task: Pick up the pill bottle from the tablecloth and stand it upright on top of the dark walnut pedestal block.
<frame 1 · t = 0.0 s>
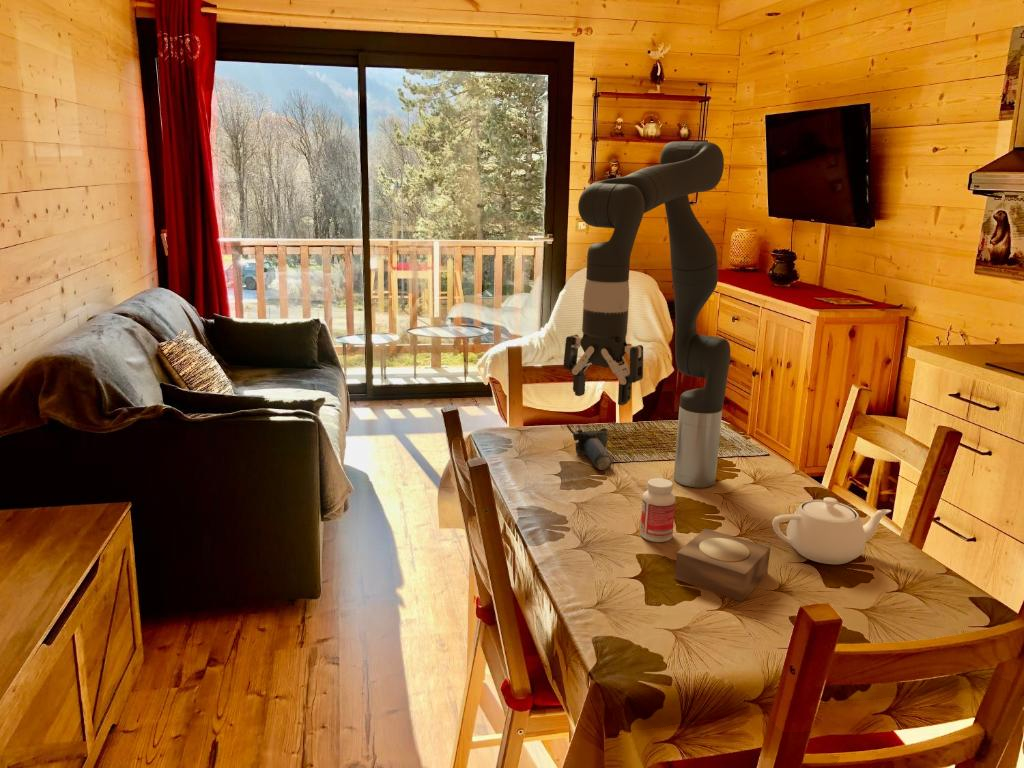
hand: (600, 399, 139), 29 cm above the table, fingers open, 8 cm apart
teapot: (826, 553, 149), on the table
pill bottle: (656, 537, 154), on the table
pedestal: (721, 576, 140), on the table
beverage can: (596, 463, 192), on the table
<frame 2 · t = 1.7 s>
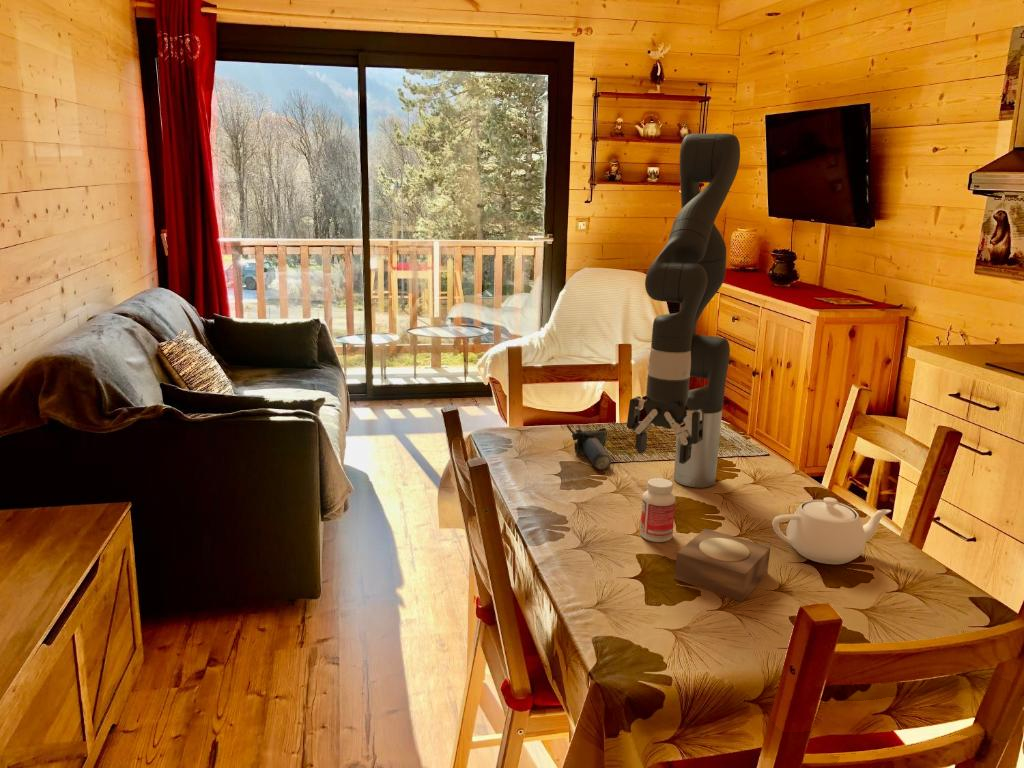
hand: (661, 457, 150), 16 cm above the table, fingers open, 8 cm apart
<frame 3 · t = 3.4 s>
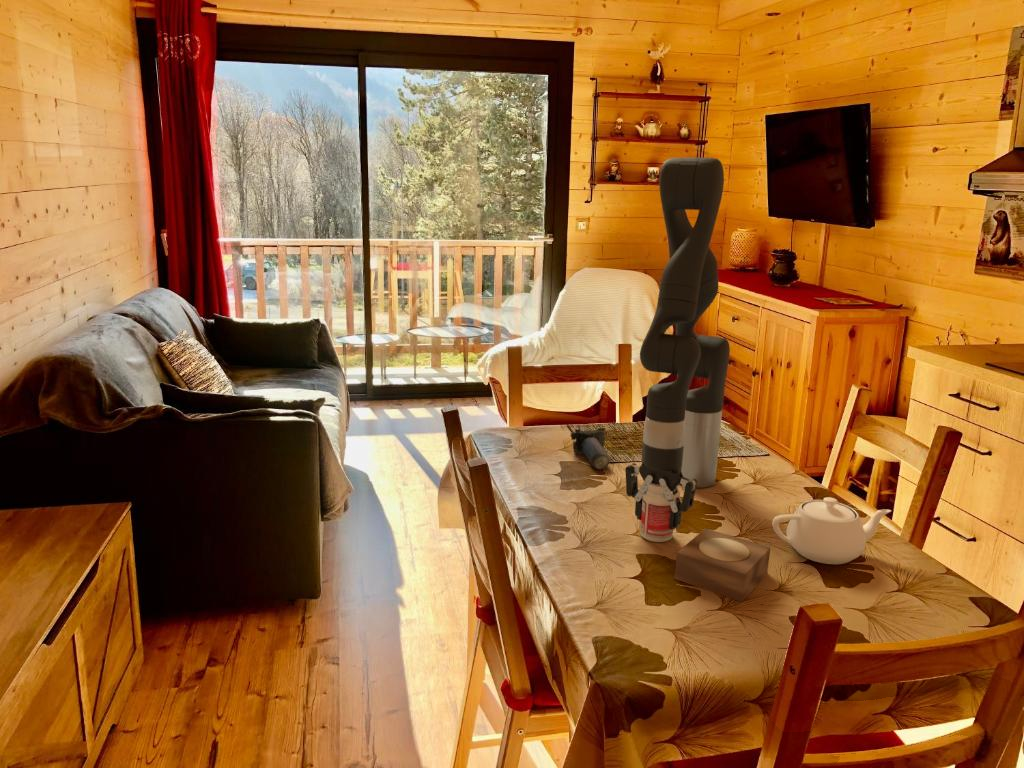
hand: (656, 523, 154), 3 cm above the table, fingers closed on pill bottle, 6 cm apart
pill bottle: (656, 536, 154), on the table, touching gripper
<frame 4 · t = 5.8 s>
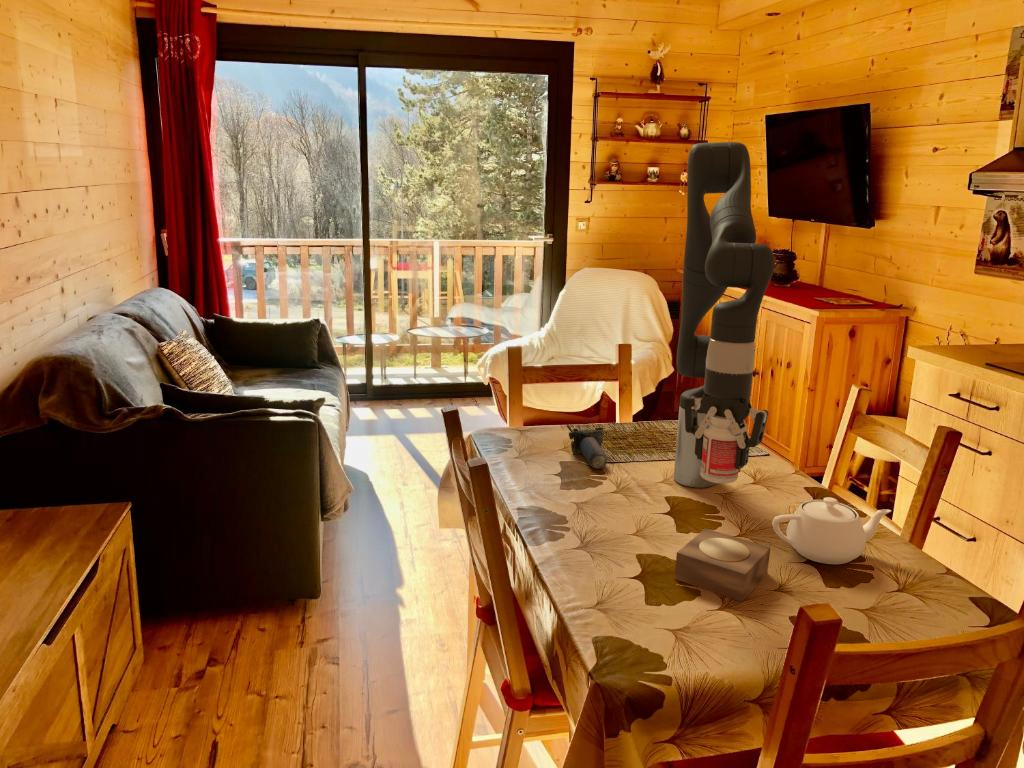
hand: (720, 462, 136), 20 cm above the table, fingers closed on pill bottle, 6 cm apart
pill bottle: (718, 479, 136), point 17 cm above the table, touching gripper
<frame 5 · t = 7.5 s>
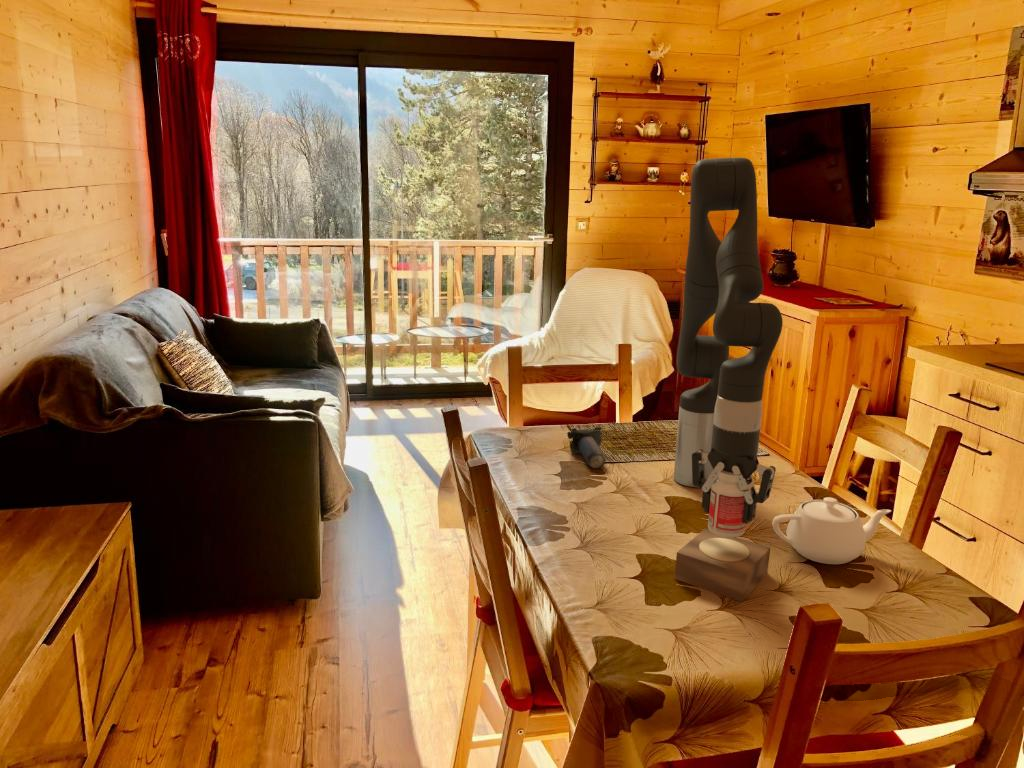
hand: (727, 516, 137), 11 cm above the table, fingers closed on pill bottle, 6 cm apart
pill bottle: (725, 532, 138), point 8 cm above the table, touching gripper
when the fingers open (9 cm above the table, at t = 8.6 s): pill bottle stays where it is, resting on pedestal.
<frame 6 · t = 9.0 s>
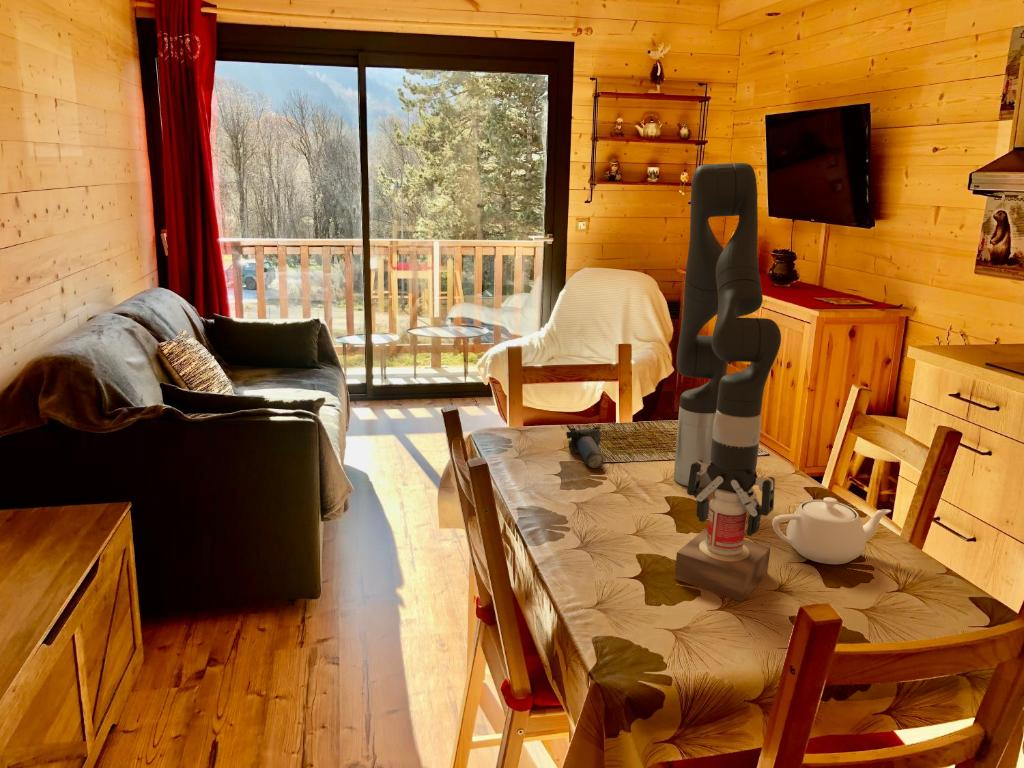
hand: (726, 527, 137), 9 cm above the table, fingers open, 8 cm apart
pill bottle: (723, 549, 139), point 5 cm above the table, touching pedestal
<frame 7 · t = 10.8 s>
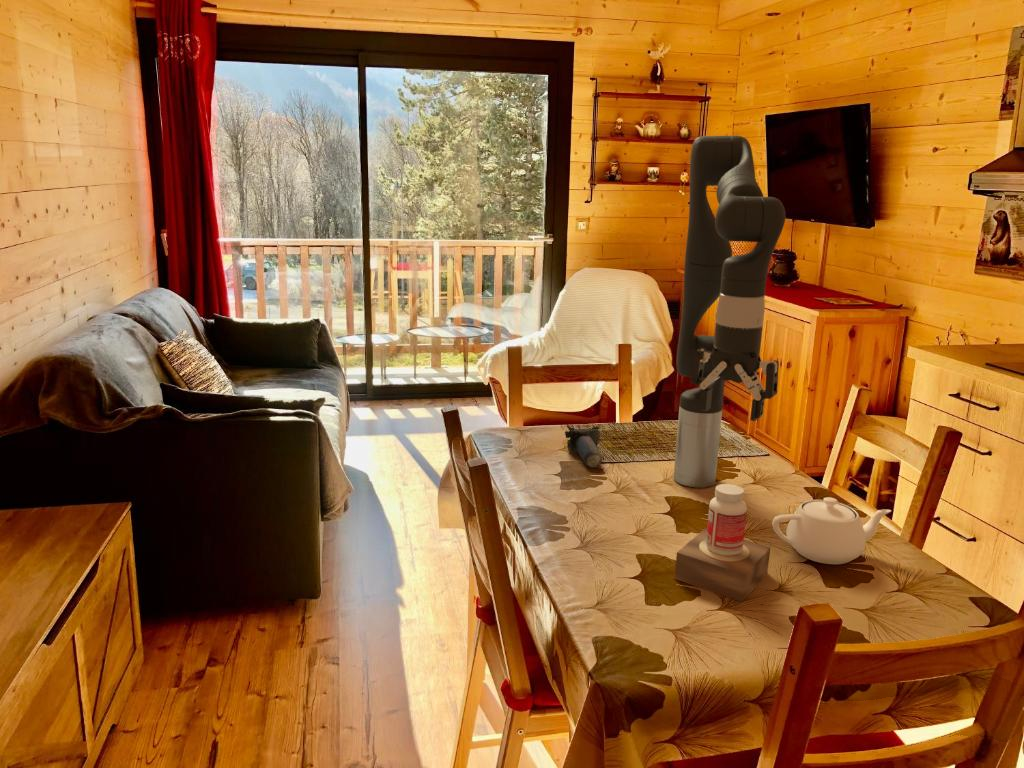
hand: (729, 414, 137), 28 cm above the table, fingers open, 8 cm apart
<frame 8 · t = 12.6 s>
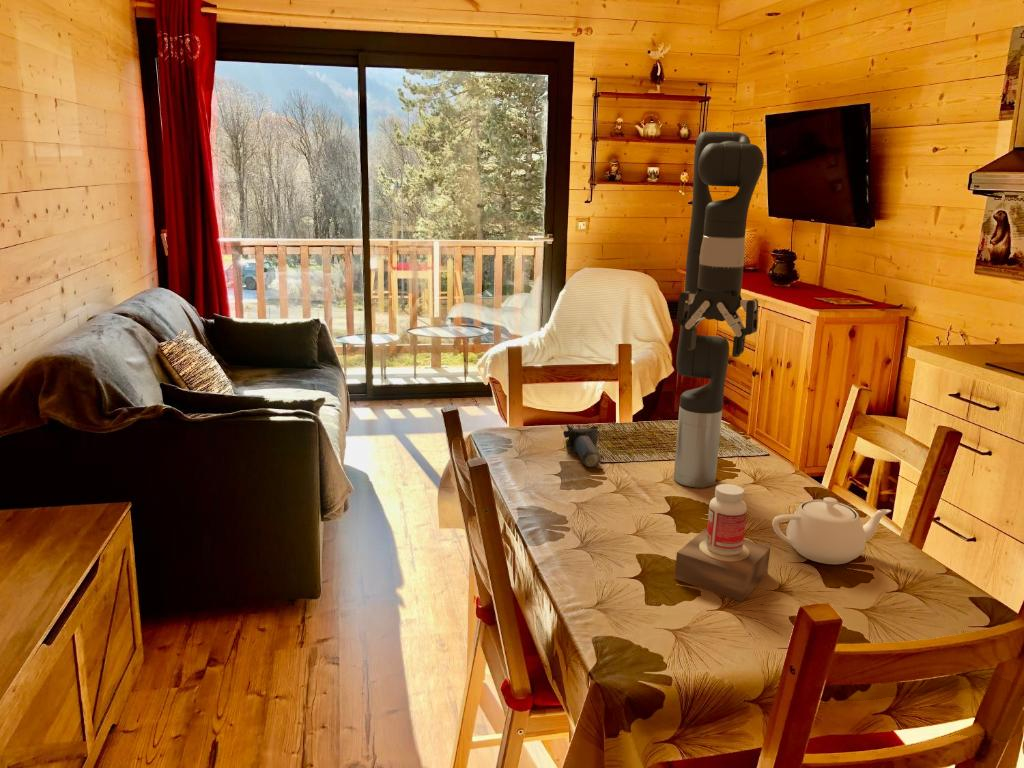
hand: (713, 352, 145), 36 cm above the table, fingers open, 8 cm apart
at the end: pill bottle inside the target area on the pedestal (0.1 cm from its centre), point 5.0 cm above the pedestal's base; pill bottle tilted 0°; the gripper is holding nothing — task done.
